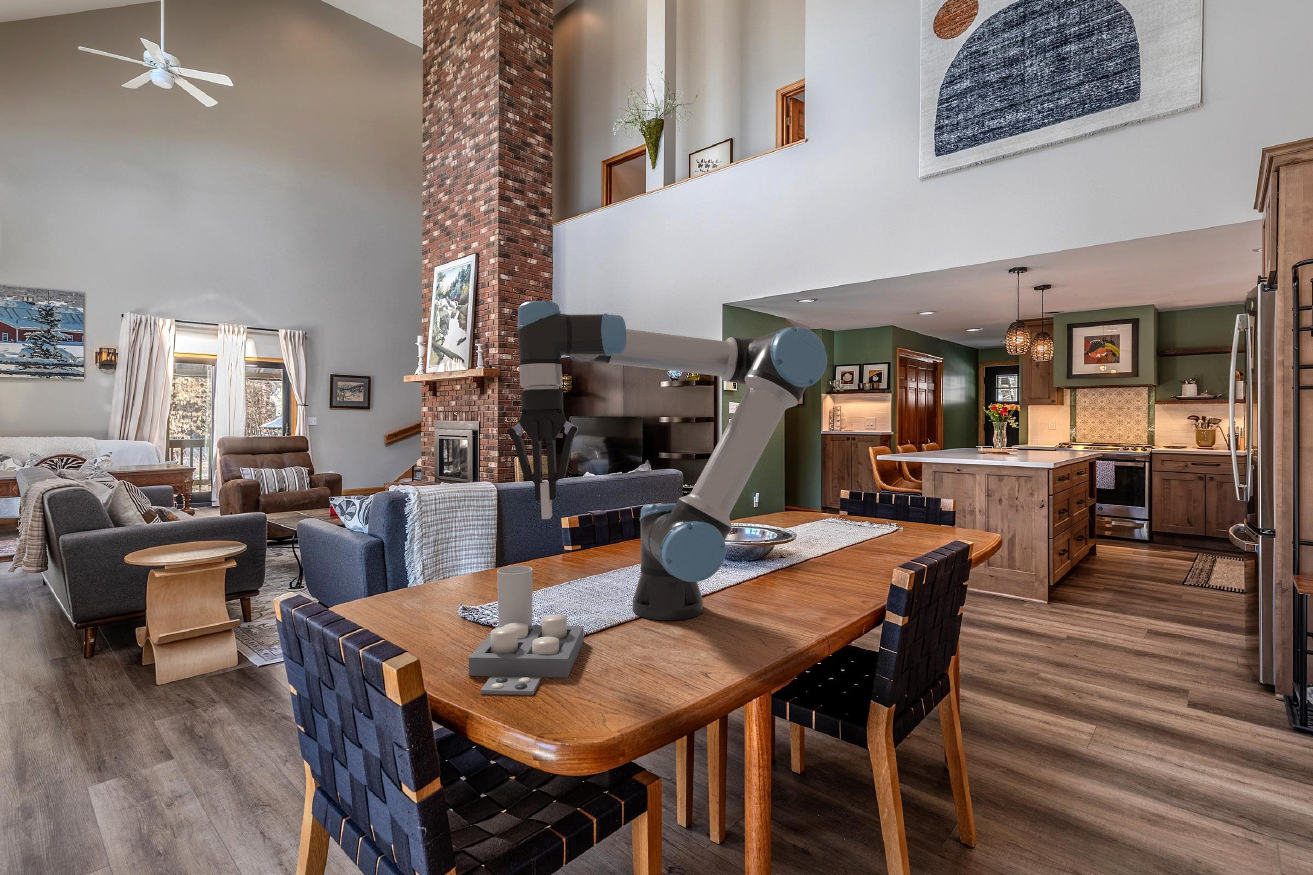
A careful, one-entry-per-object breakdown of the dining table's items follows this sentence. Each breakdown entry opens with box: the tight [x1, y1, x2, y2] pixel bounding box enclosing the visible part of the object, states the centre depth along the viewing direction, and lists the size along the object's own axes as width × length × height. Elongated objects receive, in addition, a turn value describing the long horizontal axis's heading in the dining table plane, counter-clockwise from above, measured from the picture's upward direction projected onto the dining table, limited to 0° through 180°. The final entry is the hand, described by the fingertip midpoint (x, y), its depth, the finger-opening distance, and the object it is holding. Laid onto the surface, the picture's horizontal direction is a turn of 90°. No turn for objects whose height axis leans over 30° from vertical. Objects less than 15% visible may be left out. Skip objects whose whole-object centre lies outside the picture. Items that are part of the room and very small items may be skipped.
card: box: [480, 676, 542, 696], centre depth 98 cm, size 8×5×1 cm, turn 87°
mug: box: [496, 565, 534, 625], centre depth 125 cm, size 10×7×12 cm, turn 25°
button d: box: [490, 627, 518, 654], centre depth 107 cm, size 4×4×4 cm
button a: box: [541, 614, 568, 639], centre depth 113 cm, size 4×4×4 cm
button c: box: [532, 637, 559, 654], centre depth 106 cm, size 4×4×4 cm
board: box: [468, 624, 585, 679], centre depth 110 cm, size 16×16×3 cm
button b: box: [503, 623, 528, 639], centre depth 114 cm, size 4×4×4 cm
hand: (547, 517), depth 117 cm, fingers closed
